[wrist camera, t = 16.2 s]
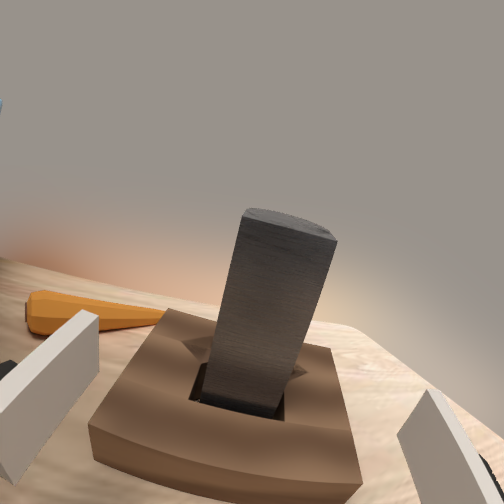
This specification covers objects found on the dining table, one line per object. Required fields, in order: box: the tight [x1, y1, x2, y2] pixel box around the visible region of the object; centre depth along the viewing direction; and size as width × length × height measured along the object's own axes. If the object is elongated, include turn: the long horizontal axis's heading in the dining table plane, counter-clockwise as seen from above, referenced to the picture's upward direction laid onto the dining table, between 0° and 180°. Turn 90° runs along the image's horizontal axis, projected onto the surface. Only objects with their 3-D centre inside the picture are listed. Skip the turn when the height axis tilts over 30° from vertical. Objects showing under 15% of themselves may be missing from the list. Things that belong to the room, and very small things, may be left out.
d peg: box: [199, 208, 337, 419], centre depth 20 cm, size 5×5×16 cm
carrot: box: [25, 290, 166, 336], centre depth 30 cm, size 20×4×4 cm, turn 128°
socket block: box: [88, 308, 363, 504], centre depth 22 cm, size 16×16×4 cm
